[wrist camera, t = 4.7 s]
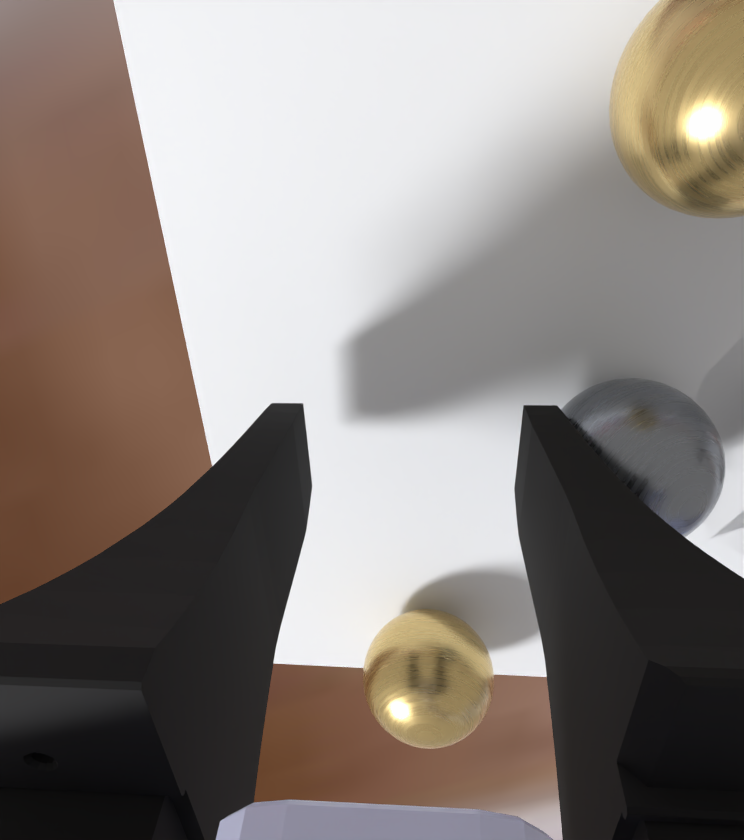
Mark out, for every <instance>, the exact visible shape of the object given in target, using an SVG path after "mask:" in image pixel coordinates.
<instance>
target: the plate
mask: <svg viewBox="0 0 744 840" xmlns="http://www.w3.org/2000/svg"><path fill="white" fill-rule="evenodd" d="M658 1H659V0H114V5H115V10H116V14H117V19H118V24H119V29H120V33H121V38H122V43H123V47H124V52H125V57H126V62H127V66H128V71H129V76H130V80H131V85H132V90H133V95H134V99H135V104H136V109H137V113H138V118H139V123H140V128H141V132H142V137H143V142H144V147H145V151H146V156H147V161H148V165H149V170H150V175H151V180H152V184H153V189H154V194H155V198H156V203H157V208H158V213H159V217H160V222H161V227H162V231H163V236H164V241H165V246H166V250H167V255H168V260H169V264H170V269H171V274H172V279H173V283H174V288H175V293H176V297H177V302H178V307H179V312H180V316H181V321H182V326H183V330H184V335H185V340H186V345H187V349H188V354H189V359H190V364H191V368H192V373H193V378H194V382H195V387H196V392H197V397H198V401H199V406H200V411H201V415H202V420H203V425H204V430H205V434H206V439H207V444H208V448H209V453H210V458H211V463H212V466H213V465H214V464H215V463H216V462H217V461H218V460H219V459H220V458H221V457H222V456H223V455H224V454H225V453H226V452H227V451H228V450H229V449H230V448H231V447H232V446H233V445H234V444H235V442H236V441H237V440H238V439H239V438H240V437H241V436H242V435H243V434H244V433H245V432H246V430H247V429H248V428H249V427H250V426H251V425H252V424H253V423H254V421H255V420H256V419H257V418H258V417H259V416H260V415H261V414H262V412H263V411H264V410H265V409H266V408H267V407H268V406H269V405H270V404H271V403H303V406H304V415H305V424H306V433H307V442H308V451H309V460H310V469H311V478H312V492H311V500H310V508H309V515H308V522H307V529H306V534H305V538H304V542H303V545H302V549H301V553H300V557H299V560H298V564H297V568H296V572H295V575H294V579H293V583H292V586H291V590H290V594H289V598H288V601H287V605H286V609H285V612H284V616H283V620H282V623H281V627H280V631H279V636H278V641H277V645H276V650H275V656H274V662H273V663H277V664H297V665H317V666H337V667H358V668H363V667H364V662H365V658H366V654H367V651H368V649H369V647H370V645H371V643H372V641H373V639H374V638H375V636H376V635H377V634H378V632H379V631H380V630H381V629H382V628H383V627H384V626H385V625H386V624H387V623H388V622H390V621H391V620H392V619H394V618H396V617H398V616H399V615H401V614H404V613H406V612H409V611H413V610H420V609H434V610H440V611H444V612H447V613H450V614H452V615H454V616H456V617H458V618H460V619H461V620H463V621H464V622H466V623H467V624H468V625H469V626H470V627H471V628H472V629H474V631H475V632H476V633H477V634H478V635H479V637H480V638H481V639H482V641H483V642H484V644H485V646H486V648H487V650H488V653H489V655H490V658H491V661H492V666H493V672H494V674H499V675H519V676H540V677H547V674H546V665H545V657H544V652H543V646H542V640H541V635H540V630H539V626H538V622H537V617H536V613H535V608H534V604H533V599H532V595H531V590H530V586H529V581H528V577H527V572H526V568H525V563H524V559H523V554H522V550H521V545H520V540H519V536H518V526H517V516H516V504H515V492H514V487H515V478H516V469H517V460H518V451H519V442H520V433H521V424H522V415H523V406H524V405H557V406H558V407H559V408H560V409H562V408H563V407H564V406H565V405H566V404H567V403H568V402H569V401H570V400H571V399H572V398H574V397H575V396H576V395H578V394H579V393H581V392H582V391H584V390H586V389H588V388H589V387H592V386H594V385H597V384H599V383H602V382H606V381H610V380H615V379H623V378H640V379H648V380H653V381H657V382H661V383H663V384H666V385H669V386H671V387H673V388H675V389H677V390H679V391H681V392H682V393H684V394H685V395H687V396H688V397H690V398H691V399H692V400H693V401H695V402H696V403H697V404H698V405H699V406H700V407H701V408H702V409H703V410H704V411H705V412H706V414H707V415H708V416H709V418H710V419H711V421H712V422H713V423H714V425H715V427H716V429H717V431H718V434H719V436H720V438H721V442H722V445H723V449H724V454H725V467H726V468H725V478H724V483H723V488H722V492H721V494H720V497H719V499H718V501H717V503H716V505H715V507H714V508H713V510H712V512H711V513H710V514H709V516H708V517H707V518H706V520H705V521H704V522H703V523H702V524H701V525H700V526H699V527H698V528H697V529H695V530H694V531H693V532H692V533H690V534H689V535H688V536H686V537H685V538H686V539H688V540H689V541H690V542H692V543H693V544H694V545H696V546H697V547H699V548H700V549H701V550H703V551H704V552H705V553H707V554H708V555H710V556H711V557H713V558H714V559H716V560H717V561H719V562H720V563H722V564H723V565H724V566H726V567H727V568H729V569H730V570H732V571H733V572H735V573H736V574H738V575H739V576H741V577H743V578H744V216H741V217H734V218H701V217H696V216H691V215H687V214H684V213H681V212H678V211H675V210H672V209H669V208H667V207H665V206H663V205H661V204H659V203H658V202H656V201H655V200H653V199H652V198H651V197H649V196H648V195H647V194H645V193H644V192H643V191H642V190H641V189H640V188H639V187H638V186H637V185H636V184H635V183H634V182H633V181H632V179H631V178H630V177H629V175H628V174H627V172H626V171H625V169H624V167H623V165H622V163H621V161H620V159H619V157H618V155H617V153H616V150H615V147H614V144H613V141H612V136H611V130H610V119H609V105H610V93H611V88H612V83H613V78H614V74H615V71H616V68H617V65H618V62H619V59H620V57H621V55H622V53H623V51H624V48H625V46H626V44H627V43H628V41H629V39H630V37H631V36H632V34H633V32H634V31H635V29H636V28H637V26H638V25H639V24H640V22H641V21H642V20H643V18H644V17H645V16H646V14H647V13H648V12H649V11H650V10H651V9H652V8H653V7H654V6H655V4H656V3H657V2H658Z"/></svg>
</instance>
